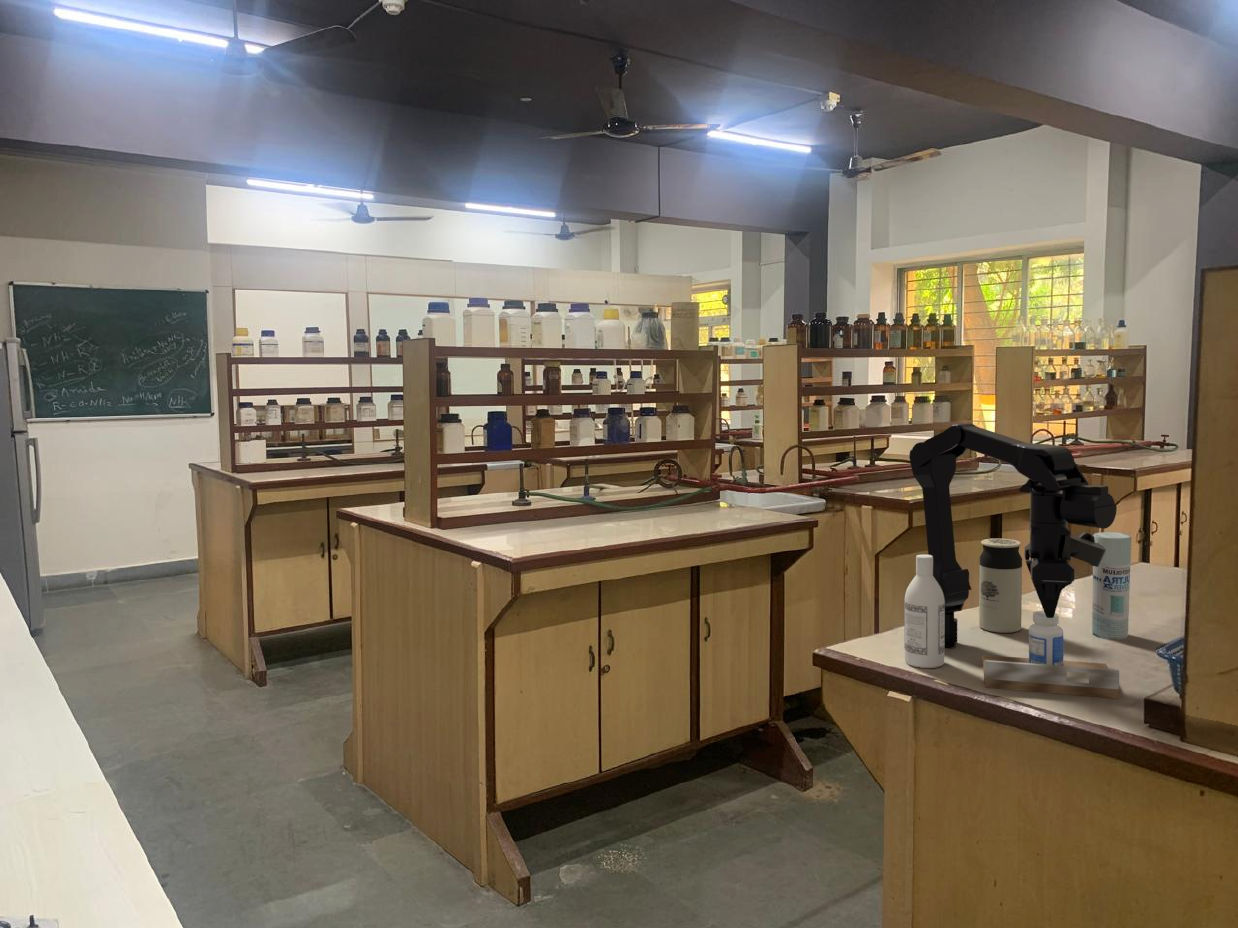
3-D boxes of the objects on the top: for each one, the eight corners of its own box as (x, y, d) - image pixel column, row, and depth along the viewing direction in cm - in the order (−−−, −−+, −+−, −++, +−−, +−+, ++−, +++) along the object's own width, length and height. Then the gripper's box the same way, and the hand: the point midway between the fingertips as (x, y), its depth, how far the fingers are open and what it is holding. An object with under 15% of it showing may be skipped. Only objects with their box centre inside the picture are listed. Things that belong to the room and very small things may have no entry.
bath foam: (934, 655, 170) (934, 550, 168) (951, 667, 163) (951, 558, 161) (898, 658, 169) (898, 553, 167) (914, 670, 162) (914, 560, 160)
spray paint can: (1117, 629, 182) (1120, 531, 179) (1135, 639, 175) (1138, 537, 173) (1084, 630, 182) (1087, 532, 180) (1101, 640, 175) (1104, 538, 173)
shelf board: (985, 687, 152) (985, 661, 152) (982, 662, 165) (982, 638, 164) (1119, 698, 145) (1119, 671, 145) (1105, 671, 158) (1106, 646, 157)
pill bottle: (1058, 664, 158) (1059, 609, 157) (1067, 674, 153) (1068, 618, 152) (1024, 663, 159) (1025, 609, 158) (1032, 673, 154) (1033, 617, 153)
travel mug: (1003, 621, 190) (1004, 536, 188) (1030, 631, 182) (1031, 543, 181) (970, 625, 188) (971, 539, 186) (996, 635, 180) (997, 546, 179)
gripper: (1110, 531, 142) (1108, 628, 143) (1094, 512, 159) (1092, 599, 161) (1032, 529, 146) (1031, 624, 147) (1024, 511, 163) (1023, 596, 165)
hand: (1047, 610), depth 155 cm, fingers open, 9 cm apart
